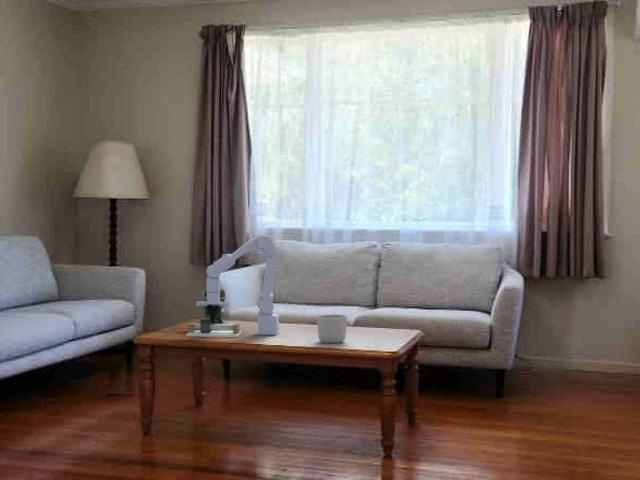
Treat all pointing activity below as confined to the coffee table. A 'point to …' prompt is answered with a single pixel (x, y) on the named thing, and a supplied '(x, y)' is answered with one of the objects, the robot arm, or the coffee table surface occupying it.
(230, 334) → the rail
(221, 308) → the coffee jar
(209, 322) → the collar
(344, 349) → the coffee table surface
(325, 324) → the planter
